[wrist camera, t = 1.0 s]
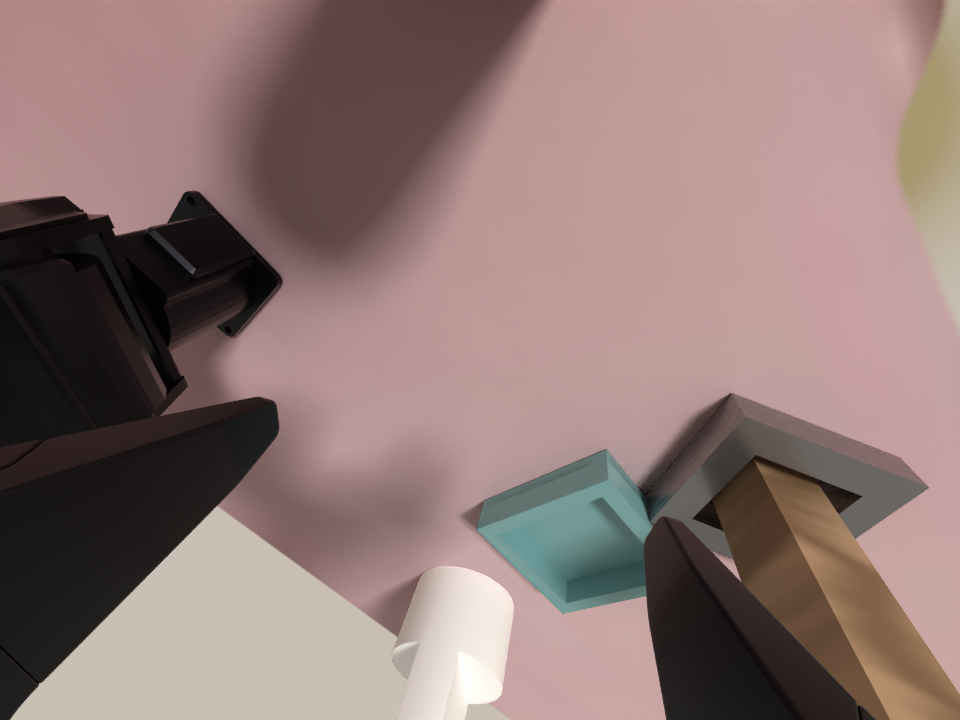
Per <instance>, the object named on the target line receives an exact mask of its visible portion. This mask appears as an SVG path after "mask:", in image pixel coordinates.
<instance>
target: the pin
mask: <svg viewBox="0 0 960 720" xmlns="http://www.w3.org/2000/svg"><path fill="white" fill-rule="evenodd" d="M712 500H713V502H714V505H715V508H716V511H717V514H718V517H719V519H720V522H721V525H722V528H723V531H724V534H725V536H726V539H727V542H728V545H729V548H730V550H731V553H732V556H733V559H734V562H735V565H736V567H737V570H738V573H739V576H740V579H741V582H742V584H743V585H744V586H745V587H746V588H747V589H748V590H749V591H750V592H751V593H752V594H753V595H754V596H755V597H756V598H757V599H758V600H759V601H760V602H761V603H762V604H763V605H764V606H765V607H766V608H767V609H768V610H769V611H770V612H771V613H772V614H773V615H774V616H775V617H776V619H777V620H778V621H779V622H780V623H781V624H782V625H783V626H784V627H785V628H786V629H787V630H788V631H789V632H790V633H791V634H792V635H793V636H794V637H795V638H796V639H797V640H798V641H799V642H800V643H801V644H802V645H803V646H804V647H805V648H806V649H807V650H808V651H809V652H810V653H811V654H812V655H813V657H814V658H815V659H816V660H817V661H818V662H819V663H820V664H821V665H822V666H823V667H824V668H825V669H826V670H827V671H828V672H829V673H830V674H831V675H832V676H833V677H834V678H835V679H836V680H837V681H838V682H839V683H840V684H841V685H842V686H843V687H844V688H845V689H846V690H847V691H848V692H849V694H850V695H851V696H852V697H853V698H854V699H855V700H856V701H857V704H858V705H860V706H863V707H864V708H865V709H866V710H867V711H868V712H869V713H870V714H871V715H872V716H873V717H874V718H875V719H876V720H960V694H959V693H958V691H957V690H956V688H955V687H954V685H953V684H952V682H951V681H950V679H949V678H948V676H947V675H946V673H945V672H944V670H943V669H942V667H941V666H940V664H939V663H938V662H937V660H936V659H935V657H934V656H933V654H932V653H931V651H930V650H929V648H928V647H927V645H926V644H925V642H924V641H923V639H922V638H921V636H920V635H919V633H918V632H917V630H916V629H915V627H914V626H913V624H912V623H911V621H910V620H909V618H908V617H907V615H906V614H905V612H904V611H903V609H902V608H901V606H900V605H899V604H898V602H897V601H896V599H895V598H894V596H893V595H892V593H891V592H890V590H889V589H888V587H887V586H886V584H885V583H884V581H883V580H882V578H881V577H880V575H879V574H878V572H877V571H876V569H875V568H874V566H873V565H872V563H871V562H870V560H869V559H868V557H867V556H866V554H865V553H864V551H863V550H862V548H861V547H860V545H859V544H858V543H857V541H856V540H855V538H854V537H853V535H852V534H851V532H850V531H849V529H848V528H847V526H846V525H845V523H844V522H843V520H842V519H841V517H840V516H839V514H838V513H837V511H836V510H835V508H834V507H833V505H832V504H831V502H830V501H829V499H828V498H827V496H826V495H825V493H824V492H823V490H822V489H821V487H820V486H819V485H818V483H817V482H816V480H815V479H814V477H811V476H809V475H806V474H804V473H801V472H799V471H796V470H793V469H791V468H788V467H786V466H783V465H781V464H778V463H776V462H773V461H770V460H768V459H765V458H763V457H760V456H758V455H755V456H754V457H753V458H752V459H751V460H750V461H749V462H748V463H747V464H746V465H745V466H744V467H743V468H742V469H741V470H740V471H739V472H738V473H737V474H736V475H735V476H734V477H733V478H732V479H731V480H730V481H729V482H728V483H727V484H726V485H725V486H724V487H723V488H722V489H721V490H720V491H719V492H718V493H717V494H716V495H715V496H714V497H713V498H712Z"/></svg>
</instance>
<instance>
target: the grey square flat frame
mask: <svg viewBox="0 0 960 720" xmlns="http://www.w3.org/2000/svg"><path fill="white" fill-rule="evenodd" d="M755 455H758V456H760V457H763V458H765V459H768V460H770V461H773V462H776V463H778V464H781V465H783V466H786V467H788V468H791V469H793V470H796V471H799V472H801V473H804V474H806V475H809V476H811V477H814V478H817V479H819V480H822V481H823V482H822V483H821V484H820V485H819V486H820V487H821V489H822V490H823V492H824V493H825V495H826V496H827V498H828V499H829V501H830V502H831V504H832V505H833V507H834V508H835V510H836V511H837V513H838V514H839V516H840V517H841V519H842V520H843V522H844V523H845V525H846V526H847V528H848V529H849V531H850V532H851V534H852V535H853V537H854V538H855V539H856V538H857V537H859V536H860V535H861V534H863V533H864V532H866V531H867V530H869V529H870V528H872V527H873V526H874V525H876V524H877V523H879V522H880V521H882V520H883V519H885V518H886V517H888V516H889V515H890V514H892V513H893V512H895V511H896V510H898V509H899V508H901V507H902V506H904V505H905V504H906V503H908V502H909V501H911V500H912V499H914V498H915V497H917V496H918V495H919V494H921V493H922V492H924V491H925V490H927V489H928V488H929V487H928V486H927V485H926V484H925V483H924V482H923V481H922V480H921V479H920V478H919V477H918V476H917V475H916V474H915V473H914V472H913V471H912V470H911V469H910V468H909V466H908V465H907V464H906V463H905V462H904V461H903V460H902V459H901V458H899V457H896V456H894V455H891V454H889V453H886V452H883V451H881V450H878V449H876V448H873V447H870V446H868V445H865V444H863V443H860V442H857V441H855V440H852V439H850V438H847V437H844V436H842V435H839V434H837V433H834V432H831V431H829V430H826V429H824V428H821V427H818V426H816V425H813V424H811V423H808V422H805V421H803V420H800V419H798V418H795V417H792V416H790V415H787V414H785V413H782V412H779V411H777V410H774V409H772V408H769V407H766V406H764V405H761V404H759V403H756V402H753V401H751V400H748V399H746V398H743V397H740V396H738V395H735V394H733V393H731V395H730V396H729V397H728V398H727V399H726V401H725V402H724V403H723V404H722V405H721V407H720V408H719V409H718V410H717V411H716V412H715V414H714V415H713V416H712V417H711V418H710V420H709V421H708V422H707V423H706V424H705V425H704V427H703V428H702V429H701V430H700V431H699V433H698V434H697V435H696V436H695V437H694V439H693V440H692V441H691V442H690V443H689V444H688V446H687V447H686V448H685V449H684V450H683V452H682V453H681V454H680V455H679V456H678V458H677V459H676V460H675V461H674V462H673V463H672V465H671V466H670V467H669V468H668V469H667V471H666V472H665V473H664V474H663V475H662V477H661V478H660V479H659V480H658V481H657V482H656V484H655V485H654V486H653V487H652V488H651V490H650V491H649V492H648V493H647V494H646V495H645V500H646V505H647V511H648V517H649V523H650V524H651V525H652V526H654V525H655V523H656V522H657V520H658V519H659V518H660V517H661V516H667V517H671V518H674V519H677V520H680V521H682V522H683V523H684V524H685V525H686V526H687V527H688V528H689V529H690V530H691V531H692V532H693V533H694V534H695V535H696V536H697V537H698V538H699V539H700V540H701V541H702V542H703V544H704V545H705V546H706V547H707V548H708V549H709V550H712V551H714V552H717V553H719V554H722V555H724V556H727V557H729V558H732V559H733V556H732V553H731V550H730V548H729V545H728V542H727V539H726V536H725V534H724V531H723V528H722V525H721V522H720V519H719V517H718V514H717V511H716V508H715V505H714V503H711V502H709V501H710V500H711V499H712V498H713V497H714V496H715V495H716V494H717V493H718V492H719V491H720V490H721V489H722V488H723V487H724V486H725V485H726V484H727V483H728V482H729V481H730V480H731V479H732V478H733V477H734V476H735V475H736V474H737V473H738V472H739V471H740V470H741V469H742V468H743V467H744V466H745V465H746V464H747V463H748V462H749V461H750V460H751V459H752V458H753V457H754V456H755Z"/></svg>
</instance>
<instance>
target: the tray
mask: <svg viewBox="0 0 960 720" xmlns="http://www.w3.org/2000/svg"><path fill="white" fill-rule="evenodd" d="M652 528H653V526H652V525H651V524H650V523H649V517H648V511H647V505H646V500H645V496H644V494H643V493H642V492H641V491H640V490H639V488H638V487H637V486H636V485H635V484H634V482H633V481H632V480H631V479H630V477H629V476H628V475H627V474H626V473H625V471H624V470H623V469H622V468H621V467H620V465H619V464H618V463H617V462H616V461H615V459H614V458H613V457H612V456H611V454H610V453H609V452H608V451H607V450H603V451H601V452H599V453H596V454H594V455H592V456H589V457H587V458H584V459H582V460H580V461H577V462H575V463H572V464H570V465H568V466H565V467H563V468H561V469H558V470H556V471H553V472H551V473H549V474H546V475H544V476H541V477H539V478H537V479H534V480H532V481H530V482H527V483H525V484H522V485H520V486H518V487H515V488H513V489H510V490H508V491H506V492H503V493H501V494H499V495H496V496H494V497H491V498H489V499H487V500H484V503H483V507H482V510H481V514H480V518H479V521H478V525H477V529H476V530H477V531H478V532H479V533H480V534H481V535H482V536H483V537H484V538H485V539H486V540H487V541H488V542H489V543H490V544H491V545H492V546H493V547H495V548H496V549H497V550H498V551H499V552H500V553H501V554H502V555H503V556H504V557H505V558H506V559H507V560H508V561H509V562H510V563H511V564H512V565H513V566H514V567H515V568H516V569H517V570H518V571H519V572H520V573H521V574H522V575H523V576H524V577H525V578H526V579H527V580H528V581H530V582H531V583H532V584H533V585H534V586H535V587H536V588H537V589H538V590H539V591H540V592H541V593H542V594H543V595H544V596H545V597H546V598H547V599H548V600H549V601H550V602H551V603H552V604H553V605H554V606H555V607H556V608H557V609H558V610H559V611H560V612H561V613H562V614H563V613H568V612H573V611H577V610H582V609H587V608H592V607H596V606H601V605H606V604H611V603H615V602H620V601H625V600H630V599H635V598H639V597H644V596H646V581H645V566H644V542H645V539H646V537H647V535H648V534H649V532H650V531H651V529H652Z"/></svg>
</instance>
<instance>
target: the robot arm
mask: <svg viewBox="0 0 960 720" xmlns="http://www.w3.org/2000/svg"><path fill="white" fill-rule="evenodd" d="M193 199H194V200H195V202H196V203H195V202H194V200H193ZM113 228H114V226H113V224H112V222H111V220H110V217H109V215H89V214H87V213H85V212H84V211H83V209H79V208H78V207H77V206H76V205H75V204H73V203H72V202H71V201H70V200H69V199H67V198H66V197H65V196H51V197H43V198H34V199H26V200H17V201H10V202H3V203H0V720H10V719H11V718H12V716H13V715H14V714H15V712H16V711H17V709H18V708H19V707H20V706H21V705H22V703H23V702H24V701H25V700H26V699H27V697H29V696H30V694H31V693H32V692H33V691H34V690H35V689H36V688H37V687H38V686H39V683H42V682H43V681H44V680H45V679H46V678H47V677H48V676H49V675H50V674H51V673H52V672H53V671H54V670H55V669H56V668H57V667H58V666H59V665H60V664H61V663H62V662H63V661H64V660H65V659H66V658H67V657H68V656H69V655H70V654H71V653H72V652H73V651H74V650H75V649H76V648H77V647H78V646H79V645H80V644H81V643H82V642H83V641H84V640H85V639H86V638H87V637H88V636H89V635H90V634H91V633H92V632H93V630H95V628H97V627H98V626H99V625H100V624H101V622H103V620H105V618H106V617H108V615H109V614H110V613H111V612H112V611H113V610H114V609H115V608H116V607H117V606H118V605H119V604H120V603H121V602H122V601H123V600H124V599H125V598H126V597H127V596H128V595H129V594H130V593H131V592H132V591H133V590H134V589H135V588H136V587H137V586H138V585H139V584H140V583H141V582H142V581H143V580H144V579H145V578H146V577H147V576H148V575H149V574H150V573H151V572H152V571H153V570H154V569H155V568H156V567H157V566H158V565H159V564H160V563H161V562H162V561H163V560H164V559H165V558H166V557H167V556H168V555H169V554H170V553H171V552H172V551H173V550H174V549H175V548H176V547H177V546H178V545H179V544H180V543H181V542H182V541H183V540H184V539H185V538H186V537H187V536H188V535H189V534H190V533H191V532H192V531H193V530H194V529H195V528H196V527H197V525H199V524H200V523H201V522H202V521H203V520H204V518H205V517H206V516H207V515H208V514H209V513H210V512H211V511H212V510H213V509H214V508H215V507H216V506H217V505H218V504H219V503H220V502H221V501H222V500H223V499H224V498H225V497H226V496H227V495H228V494H229V493H230V492H231V491H232V490H233V489H234V488H235V487H236V486H237V485H238V484H239V482H240V481H241V480H242V479H243V478H244V477H245V475H246V474H247V473H248V472H249V470H250V469H251V468H252V467H253V465H254V464H255V463H256V462H257V461H258V459H259V458H260V457H261V456H262V454H263V453H264V452H265V451H266V449H267V448H268V447H269V446H270V444H271V443H272V442H273V441H274V439H275V438H276V436H277V434H278V432H279V420H278V412H277V405H276V403H275V402H274V401H273V400H269V399H266V398H263V397H253V398H248V399H243V400H238V401H233V402H228V403H223V404H218V405H213V406H208V407H203V408H198V409H193V410H188V411H183V412H178V413H173V414H168V415H164V416H160V415H161V414H162V413H163V412H164V411H165V410H166V409H167V408H168V407H169V406H170V405H171V404H172V403H173V401H174V400H175V399H176V398H177V397H178V396H179V395H180V394H181V393H182V392H183V391H184V390H185V389H186V388H187V387H188V384H187V382H186V380H185V378H184V376H181V374H180V372H179V370H178V368H177V365H176V363H175V361H174V359H173V357H172V355H171V353H170V351H171V350H172V349H174V348H176V347H178V346H180V345H182V344H184V343H186V342H188V341H190V340H192V339H193V338H195V337H197V336H199V335H201V334H203V333H205V332H207V331H209V330H211V329H212V328H214V327H216V326H217V327H218V328H219V329H220V330H221V331H222V332H223V333H224V334H226V335H227V336H230V337H233V336H234V335H236V334H238V333H239V332H240V331H241V330H242V329H243V328H244V326H245V325H246V324H247V323H248V322H249V321H250V320H251V318H252V317H253V316H254V315H255V314H256V313H257V312H258V310H259V309H260V308H261V307H262V306H263V305H264V304H265V302H266V301H267V300H268V299H269V298H270V297H271V296H272V294H273V293H274V292H275V291H276V290H277V289H278V288H279V286H280V285H281V283H282V279H281V276H280V275H279V274H278V272H277V271H276V270H275V269H274V268H273V267H272V266H271V265H270V264H269V263H268V262H267V261H266V260H265V259H264V258H263V257H262V256H261V255H260V254H259V253H258V252H257V251H256V250H255V249H254V248H253V247H252V246H251V245H250V244H249V243H248V242H247V241H246V240H245V239H244V238H243V237H242V236H241V235H240V234H239V232H238V231H237V230H236V229H235V228H234V227H233V226H232V225H231V224H230V223H229V222H228V221H227V220H226V219H225V218H224V217H223V216H222V215H221V214H220V213H219V212H218V211H217V210H216V209H215V208H214V207H213V206H212V205H211V204H210V203H209V202H208V201H207V200H206V199H205V198H204V197H203V196H202V195H201V194H200V193H199V192H197V191H188V192H185V193H184V194H183V196H182V198H181V199H180V201H179V203H178V205H177V207H176V208H175V210H174V212H173V214H172V216H171V217H170V219H169V221H168V223H166V224H162V225H157V226H153V227H149V228H148V229H144V230H139V231H135V232H130V233H125V234H121V235H116V236H115V234H114V232H113V230H112V229H113ZM270 277H271V278H272V279H273V281H272V280H271V278H270ZM644 566H645V581H646V597H647V610H648V619H649V625H650V631H651V637H652V642H653V648H654V654H655V659H656V665H657V670H658V676H659V682H660V687H661V693H662V698H663V704H664V709H665V715H666V720H876V719H875V718H874V717H873V716H872V715H871V714H870V713H869V712H868V711H867V710H866V709H865V708H864V707H863V706H860V705H858V704H857V701H856V700H855V699H854V698H853V697H852V696H851V695H850V694H849V692H848V691H847V690H846V689H845V688H844V687H843V686H842V685H841V684H840V683H839V682H838V681H837V680H836V679H835V678H834V677H833V676H832V675H831V674H830V673H829V672H828V671H827V670H826V669H825V668H824V667H823V666H822V665H821V664H820V663H819V662H818V661H817V660H816V659H815V658H814V657H813V655H812V654H811V653H810V652H809V651H808V650H807V649H806V648H805V647H804V646H803V645H802V644H801V643H800V642H799V641H798V640H797V639H796V638H795V637H794V636H793V635H792V634H791V633H790V632H789V631H788V630H787V629H786V628H785V627H784V626H783V625H782V624H781V623H780V622H779V621H778V620H777V619H776V617H775V616H774V615H773V614H772V613H771V612H770V611H769V610H768V609H767V608H766V607H765V606H764V605H763V604H762V603H761V602H760V601H759V600H758V599H757V598H756V597H755V596H754V595H753V594H752V593H751V592H750V591H749V590H748V589H747V588H746V587H745V586H744V585H743V584H742V583H741V582H740V580H739V579H738V578H737V577H736V576H735V575H734V574H733V573H732V572H731V571H730V570H729V569H728V568H727V567H726V566H725V565H724V564H723V563H722V562H721V561H720V560H719V559H718V558H717V557H716V556H715V555H714V554H713V553H712V552H711V551H710V550H709V549H708V548H707V547H706V546H705V545H704V544H703V542H702V541H701V540H700V539H699V538H698V537H697V536H696V535H695V534H694V533H693V532H692V531H691V530H690V529H689V528H688V527H687V526H686V525H685V524H684V523H683V522H682V521H680V520H677V519H674V518H671V517H667V516H661V517H660V518H659V519H658V520H657V522H656V523H655V525H654V526H653V528H652V529H651V531H650V532H649V534H648V535H647V537H646V539H645V542H644Z"/></svg>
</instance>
